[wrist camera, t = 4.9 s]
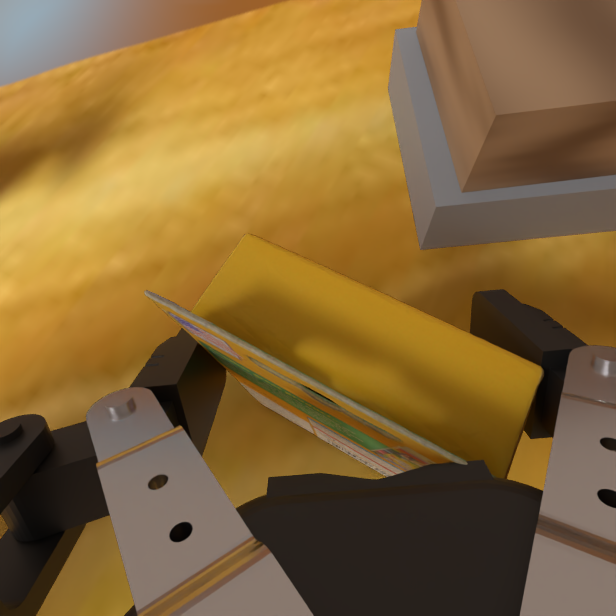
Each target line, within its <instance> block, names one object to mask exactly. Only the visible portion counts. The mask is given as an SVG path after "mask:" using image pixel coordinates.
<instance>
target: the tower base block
mask: <svg viewBox="0 0 616 616" xmlns="http://www.w3.org/2000/svg"><path fill="white" fill-rule="evenodd" d="M416 30H417V27H412V28H404V29H396V30H395V37H394V45H393V53H392V61H391V69H390V77H389V85H388V91H389V96H390V101H391V106H392V111H393V116H394V121H395V126H396V131H397V136H398V141H399V146H400V151H401V156H402V161H403V166H404V171H405V176H406V181H407V186H408V191H409V196H410V201H411V206H412V211H413V216H414V221H415V226H416V231H417V236H418V241H419V246H420V250H424V249H434V248H445V247H455V246H465V245H475V244H485V243H495V242H505V241H516V240H526V239H536V238H546V237H556V236H566V235H576V234H586V233H597V232H607V231H616V175H610V176H601V177H593V178H584V179H575V180H567V181H558V182H550V183H541V184H533V185H524V186H515V187H507V188H498V189H490V190H481V191H473V192H464V193H461V189H460V186H459V182H458V179H457V175H456V172H455V168H454V165H453V161H452V158H451V154H450V151H449V147H448V143H447V140H446V136H445V133H444V129H443V126H442V122H441V119H440V115H439V112H438V108H437V105H436V101H435V97H434V94H433V90H432V87H431V83H430V80H429V76H428V73H427V69H426V66H425V62H424V59H423V55H422V51H421V48H420V44H419V41H418V37H417V34H416Z"/></svg>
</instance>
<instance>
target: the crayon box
mask: <svg viewBox="0 0 616 616" xmlns="http://www.w3.org/2000/svg"><path fill="white" fill-rule="evenodd" d="M144 292H145V295H146V296H147V297H148V298H150V299H151V300H152V301H153V302H154V303H155V304H156V305H157V306H158V307H159V308H161V309H162V310H163V311H164V312H165V313H166V314H167V315H168V316H169V317H170V318H171V319H173V320H174V321H175V322H176V323H177V324H178V325H180V326H181V327H182V328H183V329H184V330H185V331H186V332H188V333H189V334H190V335H191V336H192V337H193V338H194V339H195V340H196V341H197V342H198V343H199V344H200V345H202V346H203V347H204V348H205V349H206V350H207V352H208V353H210V354H211V355H212V356H213V357H214V358H215V359H216V360H217V361H218V362H219V363H220V364H221V365H222V366H223V367H224V368H225V369H226V370H227V371H228V372H229V373H230V374H232V375H233V376H234V377H235V378H236V379H237V380H238V381H239V383H240V384H241V385H242V386H243V387H244V388H245V389H246V390H247V391H248V392H249V393H250V394H251V395H252V396H253V397H254V398H255V399H256V400H257V401H258V402H260V403H261V404H262V405H264V406H266V407H268V408H269V409H271V410H273V411H275V412H276V413H278V414H280V415H282V416H283V417H285V418H287V419H288V420H290V421H292V422H293V423H295V424H297V425H299V426H300V427H302V428H304V429H306V430H307V431H309V432H311V433H313V434H314V435H316V436H317V437H319V438H321V439H322V440H324V441H326V442H328V443H329V444H331V445H333V446H334V447H336V448H338V449H339V450H341V451H343V452H344V453H346V454H348V455H350V456H351V457H353V458H355V459H356V460H358V461H360V462H362V463H364V464H365V465H367V466H369V467H371V468H372V469H374V470H376V471H378V472H379V473H381V474H383V475H384V476H386V477H389V476H393V475H396V474H399V473H402V472H406V471H409V470H412V469H416V468H419V467H422V466H426V465H429V464H438V463H450V462H455V463H459V464H465V465H467V464H468V463H467V462H466V461H475V460H484V462H485V464H486V465H487V467H488V469H489V471H490V473H491V475H492V477H497V478H503V479H507V476H508V473H509V470H510V467H511V464H512V461H513V458H514V455H515V452H516V449H517V446H518V443H519V441H520V438H521V436H522V433H523V430H524V427H525V424H526V421H527V417H528V415H529V412H530V410H531V406H532V403H533V401H534V398H535V396H536V392H537V389H538V386H539V384H540V382H541V380H542V379H543V377H544V370H543V369H542V367H541V366H539V365H537V364H535V363H533V362H531V361H528V360H526V359H524V358H522V357H520V356H518V355H516V354H513V353H511V352H509V351H507V350H505V349H502V348H500V347H498V346H496V345H494V344H491V343H489V342H488V341H486V340H484V339H481V338H479V337H476V336H474V335H472V334H471V333H469V332H466V331H463V330H461V329H459V328H457V327H455V326H453V325H451V324H449V323H446V322H444V321H442V320H440V319H438V318H435V317H433V316H431V315H429V314H427V313H425V312H423V311H420V310H418V309H416V308H414V307H412V306H410V305H407V304H405V303H403V302H401V301H399V300H397V299H395V298H393V297H391V296H388V295H386V294H384V293H381V292H379V291H377V290H375V289H373V288H371V287H369V286H366V285H364V284H362V283H359V282H357V281H355V280H353V279H351V278H349V277H347V276H345V275H342V274H340V273H338V272H336V271H334V270H331V269H329V268H327V267H325V266H322V265H320V264H318V263H315V262H313V261H311V260H309V259H307V258H305V257H302V256H300V255H298V254H296V253H294V252H291V251H289V250H286V249H284V248H283V247H281V246H278V245H275V244H273V243H271V242H269V241H267V240H264V239H262V238H260V237H257V236H255V235H252V234H245V235H244V236H243V237H242V239H241V240H240V242H239V244H238V245H237V246H236V248H235V249H234V250H233V252H232V253H231V255H230V256H229V257H228V259H227V260H226V262H225V263H224V264H223V266H222V267H221V269H220V270H219V272H218V273H217V274H216V276H215V277H214V279H213V280H212V282H211V283H210V285H209V286H208V287H207V289H206V290H205V292H204V293H203V295H202V296H201V297H200V299H199V300H198V302H197V304H196V305H195V306H194V308H193V309H192V311H191V312H190V311H188V310H186V309H184V308H182V307H180V306H179V305H177V304H175V303H173V302H171V301H169V300H167V299H165V298H163V297H161V296H159V295H157V294H155V293H152V292H150V291H148V290H146V291H144Z"/></svg>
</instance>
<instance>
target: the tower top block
mask: <svg viewBox="0 0 616 616" xmlns="http://www.w3.org/2000/svg"><path fill="white" fill-rule="evenodd" d="M416 34H417V37H418V41H419V44H420V48H421V51H422V55H423V59H424V62H425V66H426V69H427V73H428V76H429V80H430V83H431V87H432V90H433V94H434V97H435V101H436V105H437V108H438V112H439V115H440V119H441V122H442V126H443V129H444V133H445V136H446V140H447V143H448V147H449V151H450V154H451V158H452V161H453V165H454V168H455V172H456V175H457V179H458V182H459V186H460V189H461V193H464V192H473V191H481V190H490V189H498V188H507V187H515V186H524V185H533V184H541V183H550V182H558V181H567V180H575V179H584V178H593V177H601V176H610V175H616V0H422V2H421V7H420V13H419V19H418V24H417V30H416Z"/></svg>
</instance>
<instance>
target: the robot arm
mask: <svg viewBox="0 0 616 616" xmlns="http://www.w3.org/2000/svg"><path fill="white" fill-rule="evenodd" d="M470 333H471V334H472V335H474V336H476V337H479V338H481V339H484V340H486V341H488V342H489V343H491V344H494V345H496V346H498V347H500V348H502V349H505V350H507V351H509V352H511V353H513V354H516V355H518V356H520V357H522V358H524V359H526V360H528V361H531V362H533V363H535V364H537V365H539V366H541V367H542V369H543V370H544V377H543V379H542V380H541V382H540V384H539V386H538V389H537V392H536V396H535V398H534V401H533V403H532V406H531V410H530V412H529V415H528V417H527V421H526V424H525V427H524V430H525V432H526V433H527V435H528V436H529V437H530V439H536V438H548V437H552V438H553V442H552V448H551V453H550V458H549V464H548V469H547V474H546V480H545V485H544V490H543V491H542V490H539V489H537V488H534V487H532V486H529V485H526V484H523V483H519V482H516V481H512V480H508V479H503V478H497V477H492V475H491V473H490V471H489V469H488V467H487V465H486V464H485V462H484V460H475V461H466V462H467V463H468V464H467V465H465V464H459V463H455V462H450V463H438V464H429V465H426V466H422V467H419V468H416V469H412V470H409V471H406V472H402V473H399V474H396V475H393V476H389V477H386V478H383V479H377V480H373V479H364V478H356V477H348V476H340V475H331V474H323V473H316V474H304V475H292V476H280V477H269V478H268V487H267V495H264V496H261V497H258V498H256V499H254V500H251V501H249V502H247V503H245V504H243V505H241V506H239V507H237V508H236V509H235V507H234V506H233V504H232V503H231V501H230V500H229V498H228V497H227V495H226V494H225V492H224V491H223V489H222V487H221V486H220V484H219V483H218V481H217V480H216V478H215V477H214V475H213V474H212V472H211V470H210V469H209V467H208V466H207V464H206V463H205V461H204V460H203V458H202V455H203V452H204V449H205V445H206V442H207V439H208V436H209V433H210V430H211V427H212V424H213V421H214V418H215V414H216V411H217V408H218V405H219V402H220V399H221V396H222V393H223V390H224V386H225V383H226V369H225V368H224V367H223V366H222V365H221V364H220V363H219V362H218V361H217V360H216V359H215V358H214V357H213V356H212V355H211V354H210V353H208V352H207V350H206V349H205V348H204V347H203V346H202V345H200V344H199V343H198V342H197V341H196V340H195V339H194V338H193V337H192V336H191V335H190V334H189V333H188V332H186V331H185V330H184V329H183V328H182V329H181V330H180V332H179V333H178V335H177V336H176V337H171V338H169V339H168V340H166V341H165V342H164V343H162V344H161V345H159V346H158V347H157V349H156V350H155V351H154V353H153V354H152V356H151V358H150V359H149V360H148V361H147V363H146V364H145V367H143V369H142V370H141V372H140V373H139V374H138V376H137V377H136V379H135V380H134V382H133V383H132V384H131V386H130V387H129V388H126V389H122V390H119V391H116V392H113V393H111V394H109V395H107V396H105V397H103V398H101V399H100V400H98V401H97V402H96V403H95V404H94V405H92V406H91V408H90V409H89V410H88V412H87V415H86V420H87V421H85V422H82V423H78V424H75V425H71V426H68V427H64V428H61V429H57V430H53V431H50V429H49V427H48V425H47V422H46V420H45V419H44V417H42V416H40V415H36V414H28V415H22V416H17V417H14V418H11V419H8V420H5V421H3V422H0V514H1V515H2V517H3V519H4V521H5V522H6V524H7V526H8V528H9V529H8V530H7V531H6V533H5V534H4V535H3V537H2V538H1V539H0V616H36V615H37V613H38V611H39V609H40V607H41V605H42V604H43V602H44V600H45V598H46V596H47V595H48V593H49V591H50V589H51V587H52V586H53V584H54V582H55V580H56V578H57V576H58V575H59V573H60V571H61V569H62V567H63V566H64V564H65V562H66V560H67V558H68V557H69V555H70V553H71V551H72V549H73V547H74V546H75V544H76V542H77V540H78V538H79V537H80V535H81V533H82V531H83V529H84V527H85V525H86V523H88V522H91V521H94V520H97V519H100V518H102V517H105V516H108V515H110V517H111V521H112V524H113V528H114V531H115V535H116V539H117V542H118V546H119V550H120V553H121V557H122V560H123V564H124V568H125V571H126V575H127V578H128V582H129V586H130V589H131V593H132V596H133V600H134V604H135V605H134V606H133V607H132V608H131V609H130V610H129V611H128V612H127V613H126V614H125V615H124V616H616V348H613V347H608V346H597V345H590V346H588V345H587V344H586V343H584V342H583V341H582V340H580V339H579V338H578V337H576V336H575V335H574V334H572V333H571V332H570V331H568V330H567V329H566V328H563V326H562V325H560V324H559V323H558V322H556V321H553V319H552V318H551V317H550V316H548V315H547V314H546V313H545V312H543V311H542V310H539V309H537V308H534V307H532V306H529V305H526V304H522V303H520V302H519V301H518V300H517V299H515V298H514V297H513V296H512V295H510V294H509V293H508V292H507V291H505V290H503V289H500V290H490V291H480V292H475V293H474V295H473V298H472V309H471V326H470Z"/></svg>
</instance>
